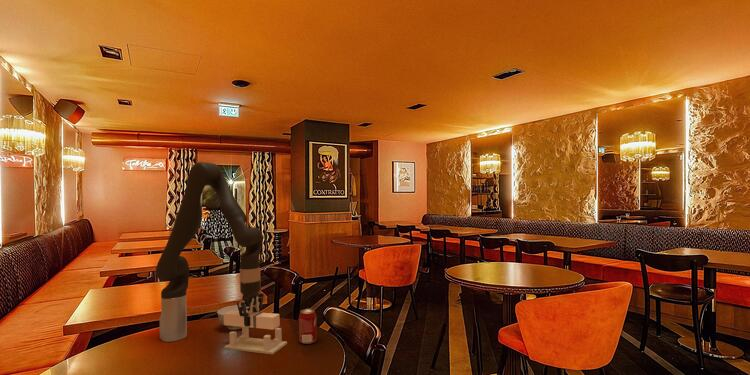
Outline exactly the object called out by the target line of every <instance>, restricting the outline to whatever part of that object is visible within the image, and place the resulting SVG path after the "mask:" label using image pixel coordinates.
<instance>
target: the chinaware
mask: <svg viewBox="0 0 750 375" xmlns="http://www.w3.org/2000/svg"><path fill="white" fill-rule="evenodd" d="M246 308H249V307H246ZM231 310H234V311H239V310H238V306H237V304H234V305H228V306H224V307H222V308H219V309H218V310H217V313H216V314H217V316H218V319H219V321H220V322H221V323H222V325H224V313H226V312H229V311H231ZM246 311H247V312H248V310H246ZM251 312H253V311H252V310H251ZM224 326H225V327H227V329H228V330H230V331H233V330H234V331H235V330H241V329H242V327H240V326H229V325H224Z"/></svg>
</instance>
